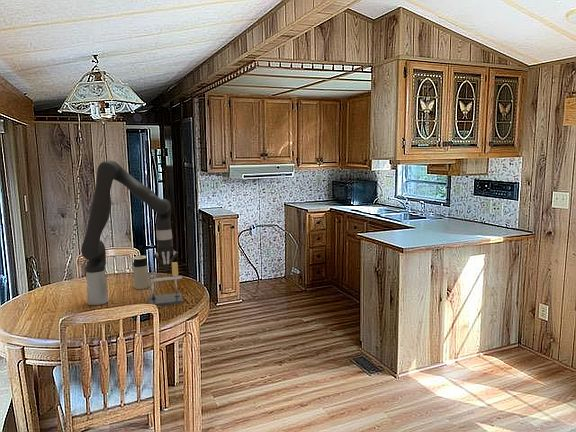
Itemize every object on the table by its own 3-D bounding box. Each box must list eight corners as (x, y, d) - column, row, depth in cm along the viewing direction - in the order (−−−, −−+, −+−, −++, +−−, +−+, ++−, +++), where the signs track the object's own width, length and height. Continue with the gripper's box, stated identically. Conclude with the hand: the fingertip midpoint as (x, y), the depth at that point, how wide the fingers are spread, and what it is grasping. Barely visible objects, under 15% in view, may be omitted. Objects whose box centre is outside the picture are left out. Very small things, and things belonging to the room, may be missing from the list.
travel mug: (141, 290, 253) (138, 259, 250) (131, 288, 257) (129, 257, 255) (152, 286, 260) (149, 256, 257) (142, 284, 264) (140, 254, 261)
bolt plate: (148, 307, 224) (146, 279, 222) (149, 298, 238) (147, 272, 236) (183, 303, 229) (182, 276, 227) (182, 295, 242) (181, 269, 240)
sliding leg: (173, 297, 232) (171, 264, 230) (173, 295, 236) (171, 262, 233) (179, 296, 233) (177, 263, 230) (179, 294, 237) (177, 261, 234)
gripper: (151, 240, 223) (153, 273, 226) (178, 238, 227) (180, 271, 229) (151, 237, 231) (153, 270, 233) (177, 235, 234) (179, 267, 237)
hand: (166, 270), depth 231 cm, fingers closed
